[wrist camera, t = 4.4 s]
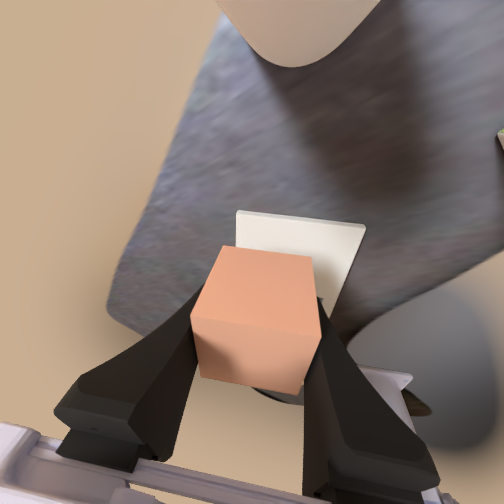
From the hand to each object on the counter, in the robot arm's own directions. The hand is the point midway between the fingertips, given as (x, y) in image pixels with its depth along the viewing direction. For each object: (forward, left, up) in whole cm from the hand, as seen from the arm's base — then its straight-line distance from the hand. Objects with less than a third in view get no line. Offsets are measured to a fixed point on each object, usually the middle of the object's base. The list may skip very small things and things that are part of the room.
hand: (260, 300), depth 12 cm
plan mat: (-4, -2, -6) cm, 8 cm away
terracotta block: (0, 0, -1) cm, 1 cm away
